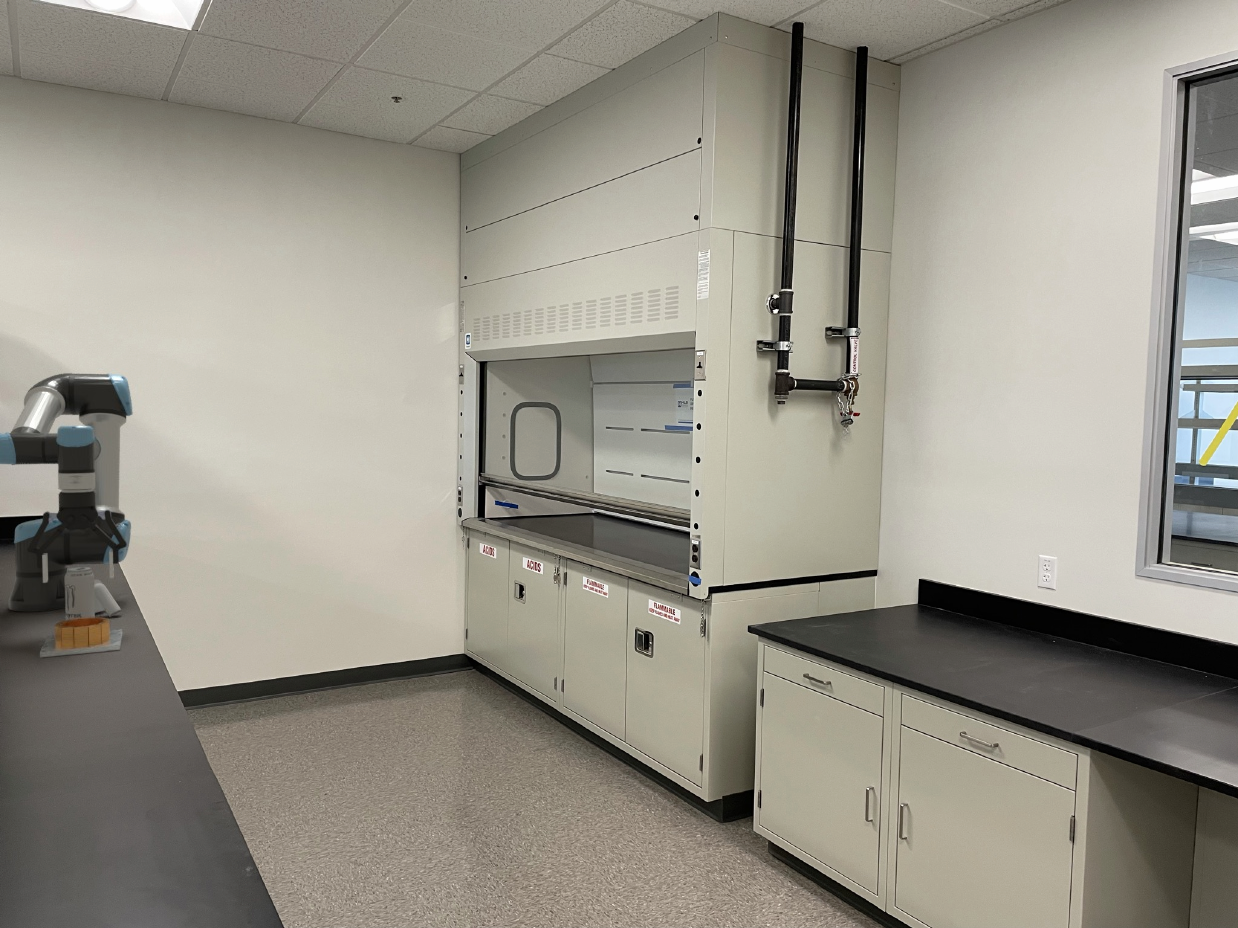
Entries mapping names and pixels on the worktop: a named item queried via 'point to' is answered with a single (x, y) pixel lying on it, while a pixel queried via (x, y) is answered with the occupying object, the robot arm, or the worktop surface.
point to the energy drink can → (79, 593)
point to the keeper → (82, 637)
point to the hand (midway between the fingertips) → (79, 579)
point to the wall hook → (104, 599)
